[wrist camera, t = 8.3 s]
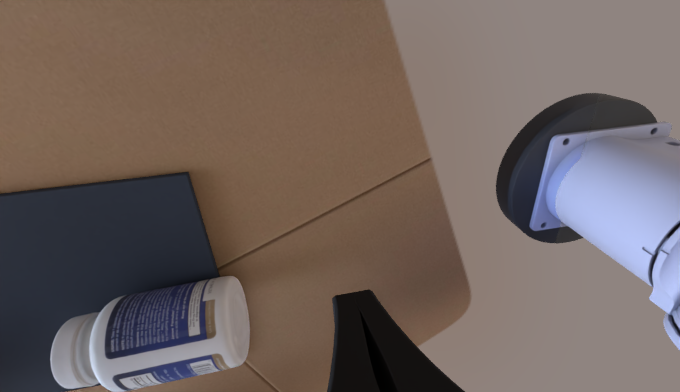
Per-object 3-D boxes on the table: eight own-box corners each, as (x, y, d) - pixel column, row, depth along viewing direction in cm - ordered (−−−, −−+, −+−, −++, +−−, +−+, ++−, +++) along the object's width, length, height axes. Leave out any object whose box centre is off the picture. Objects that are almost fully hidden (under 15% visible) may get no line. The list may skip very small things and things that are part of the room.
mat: (188, 171, 19) (186, 174, 19) (243, 355, 27) (242, 359, 27) (-224, 219, 17) (-235, 224, 17) (-37, 405, 25) (-41, 411, 24)
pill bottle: (240, 263, 23) (92, 291, 22) (222, 293, 18) (26, 331, 17) (255, 336, 24) (111, 366, 23) (242, 386, 19) (54, 427, 18)
